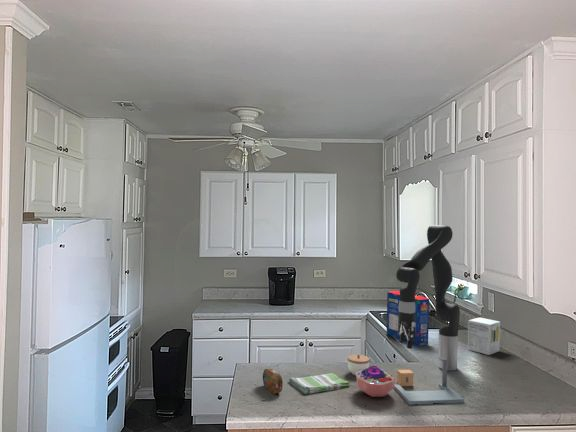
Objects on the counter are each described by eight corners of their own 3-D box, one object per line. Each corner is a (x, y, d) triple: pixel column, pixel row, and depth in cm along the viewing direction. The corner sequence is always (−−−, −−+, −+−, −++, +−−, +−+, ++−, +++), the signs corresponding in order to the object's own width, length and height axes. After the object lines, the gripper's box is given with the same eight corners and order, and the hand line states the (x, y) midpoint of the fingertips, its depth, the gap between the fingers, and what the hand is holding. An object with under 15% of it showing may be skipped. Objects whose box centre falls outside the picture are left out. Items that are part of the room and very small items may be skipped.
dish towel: (288, 382, 211) (288, 374, 211) (330, 375, 221) (330, 368, 221) (305, 396, 196) (305, 388, 196) (350, 388, 206) (350, 380, 206)
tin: (261, 384, 207) (262, 366, 207) (268, 383, 208) (268, 365, 208) (277, 397, 193) (277, 377, 193) (283, 395, 195) (284, 376, 195)
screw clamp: (392, 386, 208) (392, 356, 208) (441, 384, 211) (442, 355, 211) (409, 404, 188) (410, 372, 188) (463, 402, 191) (464, 370, 191)
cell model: (355, 402, 190) (355, 375, 190) (354, 384, 210) (355, 359, 210) (396, 405, 188) (397, 378, 187) (392, 386, 207) (392, 362, 207)
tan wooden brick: (396, 382, 213) (397, 369, 213) (409, 382, 214) (409, 369, 214) (400, 386, 208) (401, 373, 208) (413, 386, 209) (413, 373, 209)
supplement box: (488, 355, 257) (489, 324, 257) (467, 349, 267) (467, 319, 267) (500, 351, 265) (500, 321, 265) (478, 345, 276) (479, 317, 275)
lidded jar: (359, 379, 216) (359, 359, 216) (342, 372, 224) (343, 353, 224) (373, 374, 223) (374, 355, 223) (357, 368, 231) (357, 349, 231)
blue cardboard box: (428, 344, 276) (429, 298, 276) (418, 346, 272) (419, 299, 272) (395, 333, 300) (396, 291, 300) (386, 334, 296) (387, 291, 296)
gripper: (393, 307, 217) (392, 341, 217) (405, 314, 203) (404, 350, 203) (408, 307, 218) (407, 341, 218) (421, 314, 204) (420, 350, 204)
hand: (406, 345), depth 211 cm, fingers open, 8 cm apart
